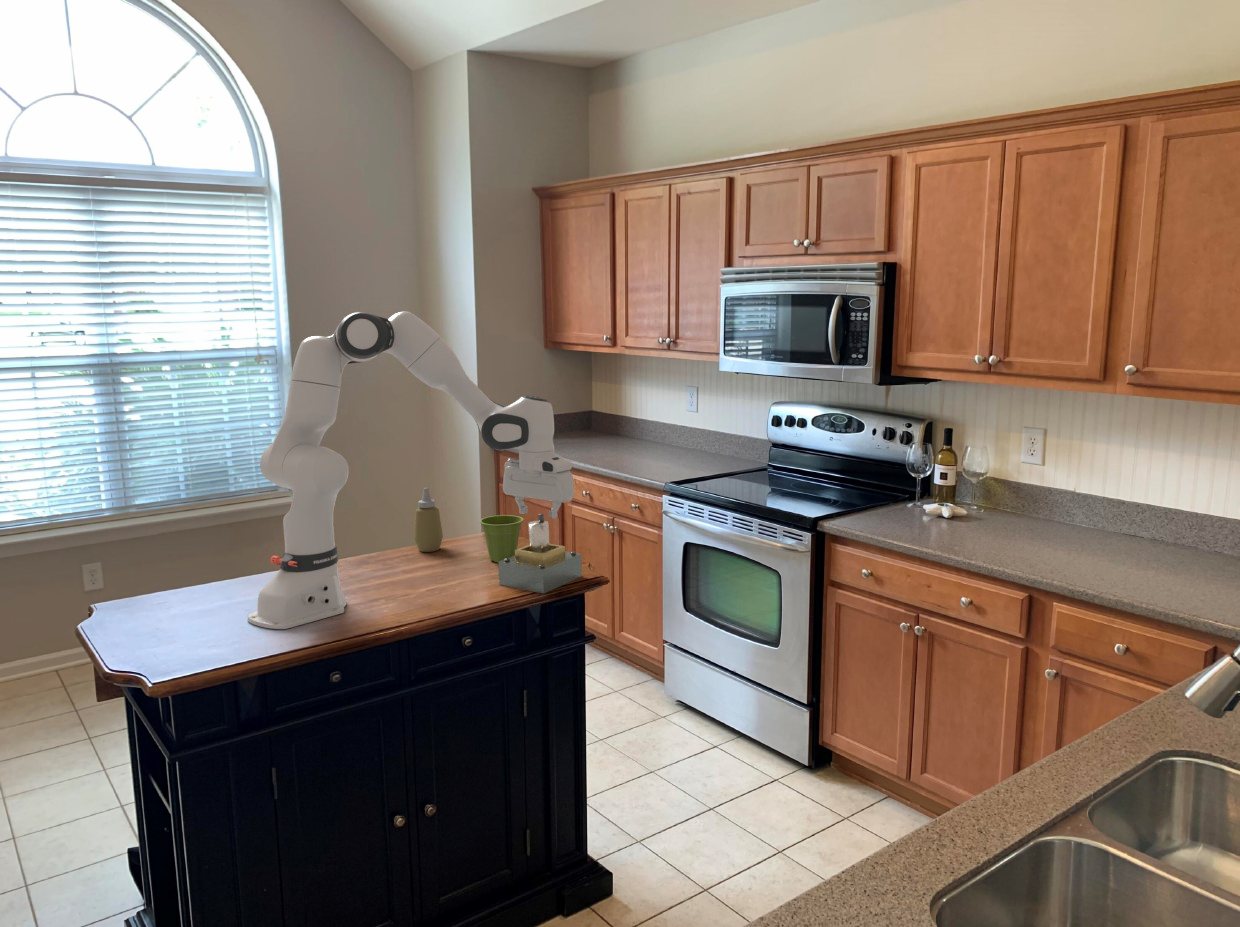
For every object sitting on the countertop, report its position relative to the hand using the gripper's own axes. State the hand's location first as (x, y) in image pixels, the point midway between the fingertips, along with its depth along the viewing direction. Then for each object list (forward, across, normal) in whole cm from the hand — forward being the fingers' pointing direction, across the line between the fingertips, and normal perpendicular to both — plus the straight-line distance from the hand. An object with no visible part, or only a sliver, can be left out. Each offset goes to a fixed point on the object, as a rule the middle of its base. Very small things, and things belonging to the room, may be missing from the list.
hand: (538, 515), depth 238 cm
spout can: (+11, 0, +1) cm, 11 cm away
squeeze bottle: (+17, -46, +8) cm, 50 cm away
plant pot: (+17, -21, +11) cm, 29 cm away
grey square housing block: (+17, 0, +1) cm, 17 cm away
